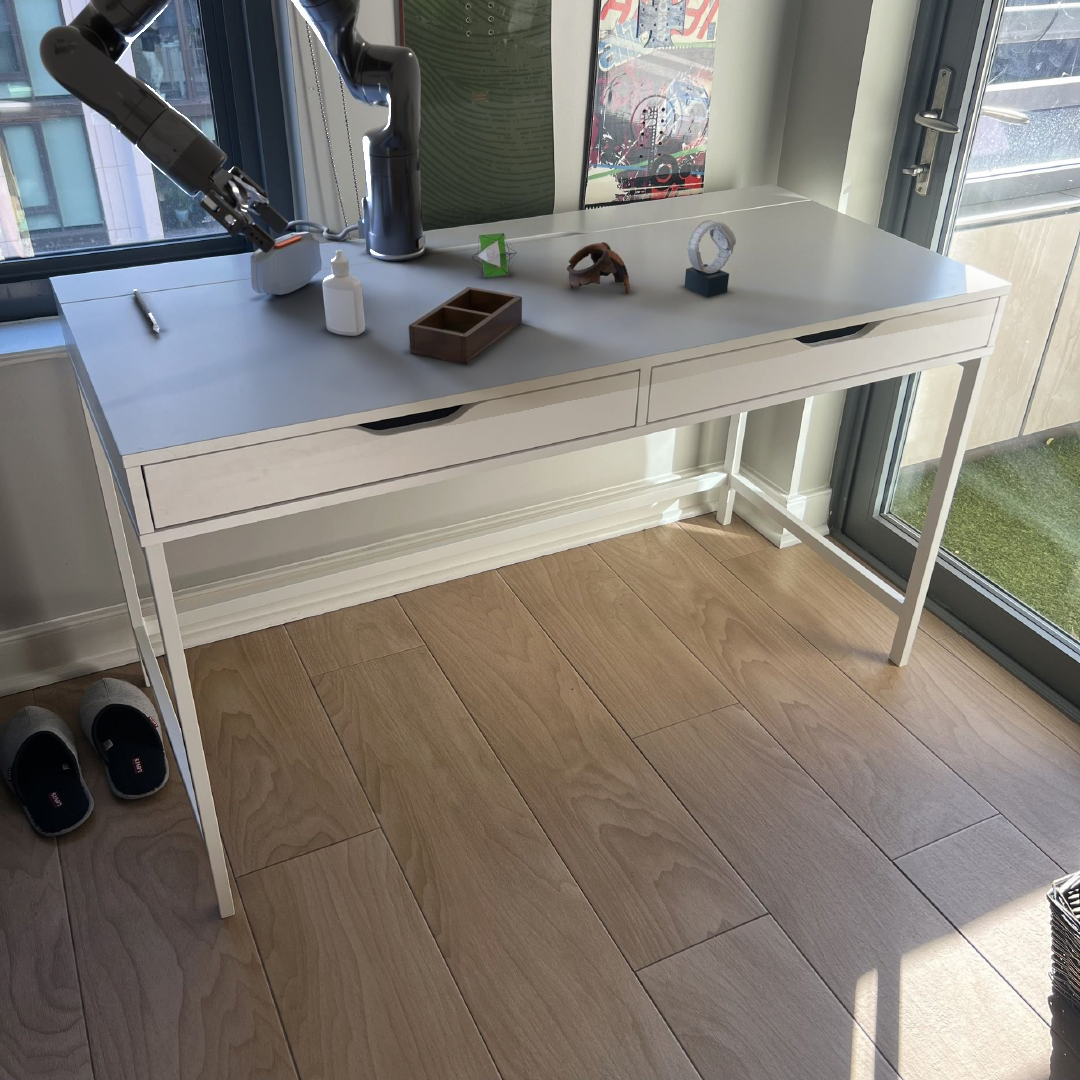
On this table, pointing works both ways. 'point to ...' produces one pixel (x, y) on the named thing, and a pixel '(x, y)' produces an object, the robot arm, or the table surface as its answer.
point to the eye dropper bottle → (343, 299)
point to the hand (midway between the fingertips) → (278, 238)
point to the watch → (710, 276)
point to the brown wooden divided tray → (465, 325)
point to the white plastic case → (286, 264)
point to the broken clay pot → (597, 266)
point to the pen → (146, 310)
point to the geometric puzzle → (493, 255)
